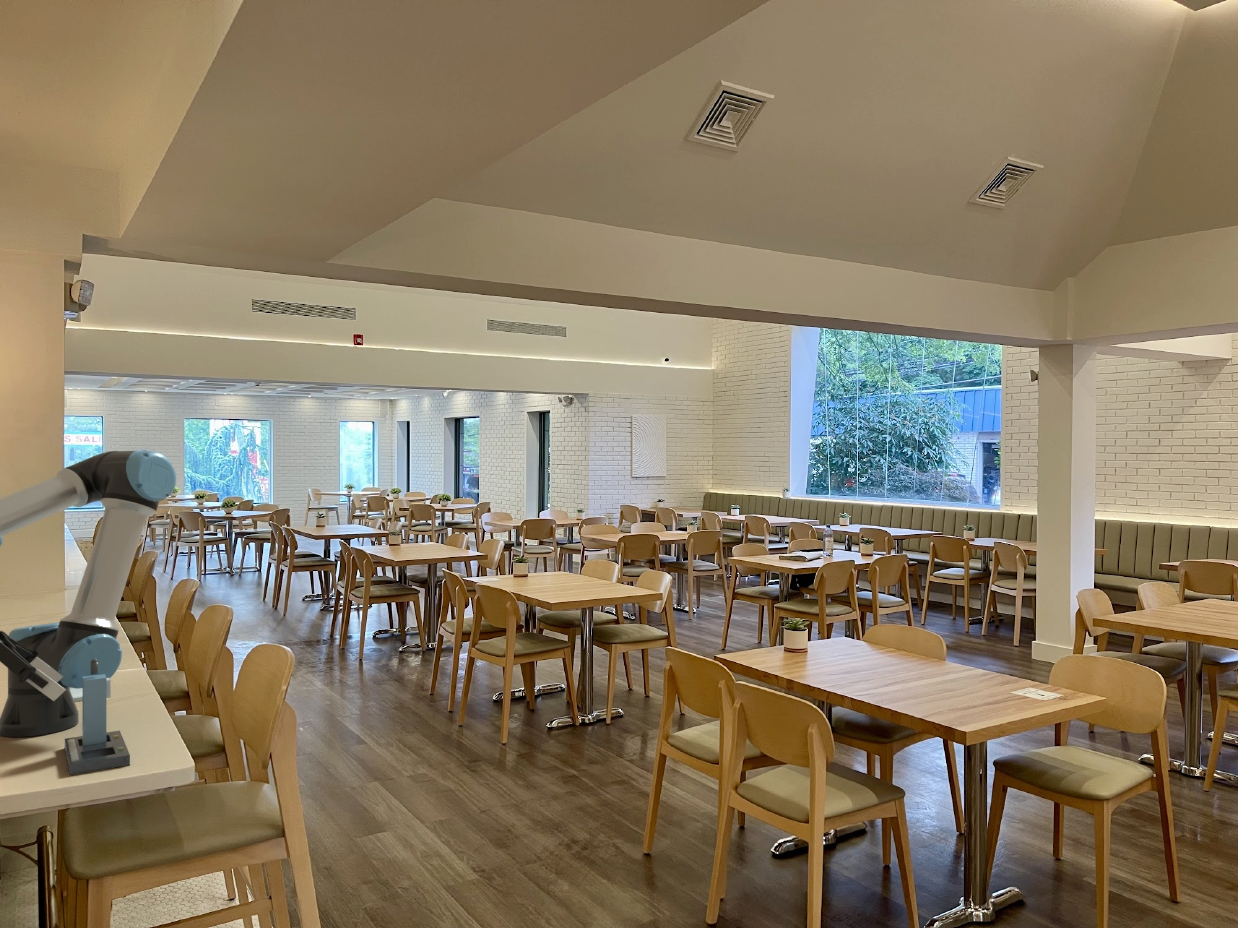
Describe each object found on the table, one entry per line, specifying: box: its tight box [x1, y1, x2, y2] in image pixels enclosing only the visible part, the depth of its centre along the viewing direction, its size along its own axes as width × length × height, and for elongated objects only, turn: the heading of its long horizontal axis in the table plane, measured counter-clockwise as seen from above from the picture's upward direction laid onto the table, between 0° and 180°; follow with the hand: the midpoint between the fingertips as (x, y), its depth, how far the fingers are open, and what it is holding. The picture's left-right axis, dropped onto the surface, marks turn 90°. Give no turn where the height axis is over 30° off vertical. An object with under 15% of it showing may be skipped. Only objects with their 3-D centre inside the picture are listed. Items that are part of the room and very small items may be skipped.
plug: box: [81, 659, 112, 746], centre depth 183 cm, size 4×5×19 cm
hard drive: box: [70, 688, 83, 703], centre depth 228 cm, size 2×8×12 cm
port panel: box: [64, 730, 131, 776], centre depth 179 cm, size 20×10×2 cm, turn 34°
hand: (58, 688), depth 179 cm, fingers open, 13 cm apart
